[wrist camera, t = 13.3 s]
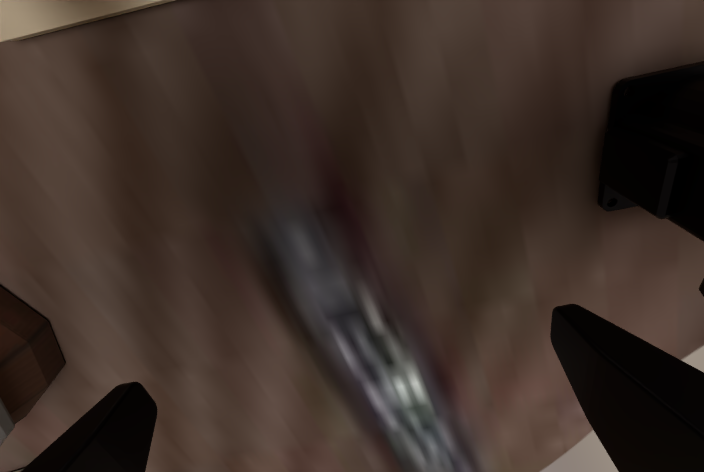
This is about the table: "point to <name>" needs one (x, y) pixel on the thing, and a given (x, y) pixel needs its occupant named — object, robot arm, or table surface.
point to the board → (59, 14)
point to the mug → (23, 360)
